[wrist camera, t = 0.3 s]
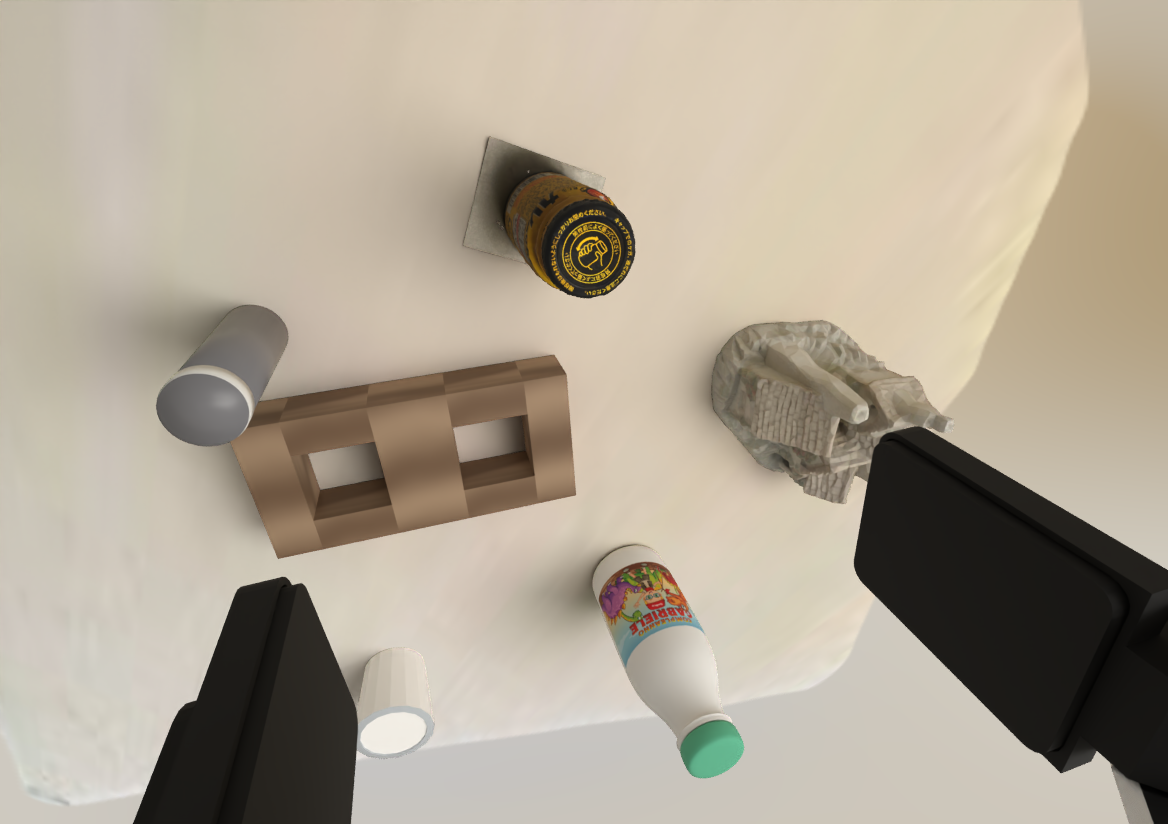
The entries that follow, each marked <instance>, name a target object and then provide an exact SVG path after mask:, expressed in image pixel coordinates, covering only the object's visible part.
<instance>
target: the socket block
mask: <svg viewBox="0 0 1168 824" xmlns="http://www.w3.org/2000/svg"><path fill="white" fill-rule="evenodd" d="M520 415H521V416H522V424H523V432H524V440H525V448H526V451H522V452H516V453H511V454H506V455H501V456H496V457H491V458H485V459H480V460H475V461H470V462H465V463H460V462H459V457H458V452H457V446H456V441H455V436H454V431H453V427H459V426H464V425H470V424H476V423H481V422H487V421H492V420H498V419H503V418H509V417H515V416H520ZM230 442H231V445H232V447H233V450H234V452H235V455H236V457H237V460H238V462H239V465H240V467H241V469H242V472H243V474H244V477H245V479H246V482H247V484H248V487H249V489H250V491H251V494H252V496H253V499H254V501H255V504H256V506H257V509H258V511H259V514H260V516H261V518H262V521H263V523H264V526H265V528H266V531H267V533H268V536H269V538H270V540H271V543H272V545H273V548H274V550H275V553H276V555H277V558H278V559H279V558H284V557H289V556H294V555H298V554H303V553H308V552H312V551H317V550H322V549H326V548H331V547H336V546H340V545H345V544H350V543H354V542H359V541H364V540H369V539H373V538H378V537H383V536H387V535H392V534H397V533H401V532H406V531H411V530H415V529H420V528H425V527H429V526H434V525H439V524H443V523H448V522H453V521H458V520H462V519H467V518H472V517H476V516H481V515H486V514H490V513H495V512H500V511H504V510H509V509H514V508H518V507H523V506H528V505H532V504H537V503H542V502H547V501H551V500H556V499H561V498H565V497H570V496H575V495H576V489H575V476H574V463H573V451H572V438H571V426H570V413H569V400H568V388H567V375H566V373H565V371H564V370H563V368H562V366H561V365H560V363H559V362H558V360H557V358H556V357H555V355H550V356H544V357H538V358H532V359H525V360H519V361H513V362H506V363H500V364H494V365H488V366H481V367H475V368H469V369H463V370H456V371H450V372H444V373H438V374H431V375H425V376H419V377H412V378H406V379H400V380H394V381H387V382H381V383H375V384H369V385H362V386H356V387H350V388H344V389H337V390H331V391H325V392H319V393H312V394H306V395H300V396H293V397H287V398H281V399H275V400H268V401H262V402H258V404H257V406H256V408H255V410H254V413H253V416H252V418H251V420H250V422H249V424H248V426H247V428H246V429H245V430H244V432H243V433H242V434H241V435H240V436H238V437H237V438H235V439H234V440H232V441H230ZM370 442H375V443H376V447H377V451H378V455H379V458H380V462H381V466H382V469H383V473H384V477H385V478H382V479H377V480H372V481H366V482H361V483H356V484H351V485H346V486H340V487H335V488H330V489H325V490H320V489H319V486H318V483H317V480H316V477H315V474H314V471H313V468H312V465H311V462H310V459H309V456H308V454H309V453H314V452H320V451H325V450H331V449H337V448H342V447H348V446H353V445H359V444H364V443H370Z"/></svg>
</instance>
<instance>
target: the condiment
mask: <svg viewBox="0 0 1168 824" xmlns="http://www.w3.org/2000/svg"><path fill="white" fill-rule="evenodd" d="M528 170H530V171H529V173H528V172H527V171H528ZM605 179H606V178H605V177H602V176H599V175H596V174H593V173H591V172H588V171H585V170H582V169H579V168H576V167H574V166H571V165H568V164H566V163H563V162H560V161H557V160H554V159H551V158H549V157H546V156H543V155H540V154H537V153H535V152H532V151H529V150H527V149H524V148H521V147H518V146H515V145H512V144H510V143H507V142H504V141H501V140H498V139H496V138H493V137H489V141H488V145H487V150H486V153H485V157H484V161H483V165H482V169H481V173H480V177H479V181H478V185H477V189H476V194H475V198H474V202H473V206H472V210H471V215H470V219H469V223H468V227H467V231H466V236H465V240H464V244H463V246H465V247H469V248H472V249H476V250H479V251H483V252H487V253H490V254H494V255H498V256H501V257H504V258H508V259H512V260H515V261H519V262H523V263H527V264H528V265H529V266H530V267H531V269H532V270H533V271H534V272H535V274H536V275H537V276H539V277H540V278H541V279H542V280H543V281H544V282H547V283H548V284H549V285H550V286H552V287H554V288H556V289H559V290H560V291H563V292H565V293H567V295H572V296H576V297H580V298H592V297H597V296H601V295H606V294H608V293H610V292H611V291H613V290H614V289H615V288H616V287H617V286H618V285H619V284H620V283H621V282H622V281H623V280H624V279H625V277H626V276H627V274H628V272H629V270H630V268H631V265H632V263H633V261H634V257H635V238H634V234H633V230H632V228H631V225H630V223H629V221H628V220H627V219H626V217H625V215H624V214H623V213H622V212H621V211H620V210H618V209H617V207H616V206H615V204H614V203H613V202H612V201H611V199H610V198H609V197H607V196H606V195H605V194H603V193H601V192H602V189H603V186H604V183H605ZM497 220H498V221H499V222H500V225H498V224H497ZM501 226H503V227H504V229H503V230H502V229H501Z"/></svg>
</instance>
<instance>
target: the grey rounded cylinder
mask: <svg viewBox="0 0 1168 824" xmlns="http://www.w3.org/2000/svg"><path fill="white" fill-rule="evenodd" d="M287 343H288V331H287V328H286V325H285V324H284V322H283V321H282V319H281V318H280V317H279V316H278V315H277V314H276V313H274V312H273V311H271V310H269V309H267V308H265V307H261V306H257V305H245V306H240V307H237V308H235V309H233V310H232V311H231V312H230V313H228V314H227V316H226V317H225V318H224V319H223V320H222V321H221V323H220V324H219V325H218V326H217V327H216V328H215V329H214V331H213V332H212V333H211V334H210V335H209V336H208V337H207V339H206V340H205V341H204V342H203V343H202V344H201V345H200V347H199V348H198V349H197V350H196V351H195V352H194V354H193V355H192V356H191V357H190V358H189V359H188V360H187V362H186V363H185V364H184V365H183V366H182V367H181V368H180V370H179V371H178V372H177V373H176V374H174V375H173V376H172V377H171V378H170V379H169V380H168V382H167V383H166V384H165V385H164V386H163V388H162V389H161V390H160V392H159V394H158V397H157V403H156V410H157V414H158V417H159V419H160V421H161V423H162V424H163V426H164V427H165V428H166V429H167V430H168V431H169V432H170V433H171V434H172V435H174V436H175V437H177V438H178V439H180V440H182V441H185V442H187V443H190V444H194V445H198V446H218V445H222V444H226V443H228V442H230V441H232V440H234V439H235V438H237V437H238V436H240V435H241V434H242V433H243V432H244V430H245V429H246V428H247V426H248V424H249V422H250V420H251V418H252V416H253V413H254V410H255V408H256V406H257V404H258V402H259V400H260V398H261V396H262V394H263V392H264V390H265V388H266V386H267V384H268V382H269V380H270V378H271V376H272V374H273V372H274V370H275V368H276V366H277V364H278V362H279V360H280V358H281V356H282V354H283V352H284V350H285V348H286V346H287Z"/></svg>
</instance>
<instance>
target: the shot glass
mask: <svg viewBox="0 0 1168 824" xmlns="http://www.w3.org/2000/svg"><path fill="white" fill-rule="evenodd" d="M357 718H358V738H357V751H359V752H361V753H362V754H364V755H366V756H368V757H373V758H379V759H387V758H397V757H401V756H403V755H406V754H409V753H412V752H414V751H415V750H417V749H418V748H420V747H421V746H423V745H424V744H426V742H427V741H428V740H429V738H430V737H431V736H432V735H433V730H434V725H435V724H434V717H433V711H432V704H431V698H430V691H429V685H428V678H427V672H426V666H425V661H424V659H423V657H422V655H421V654H419V653H418V652H417V651H415V650H413V649H409V648H405V647H400V648H390V649H387V650H384V651H381V652H379V653H378V654H376V655H375V656H373V657H372V658H371V659H370V660H369V662H368V663H367V665H366V666H365V672H364V677H363V683H362V688H361V694H360V699H359V704H358V710H357Z"/></svg>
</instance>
